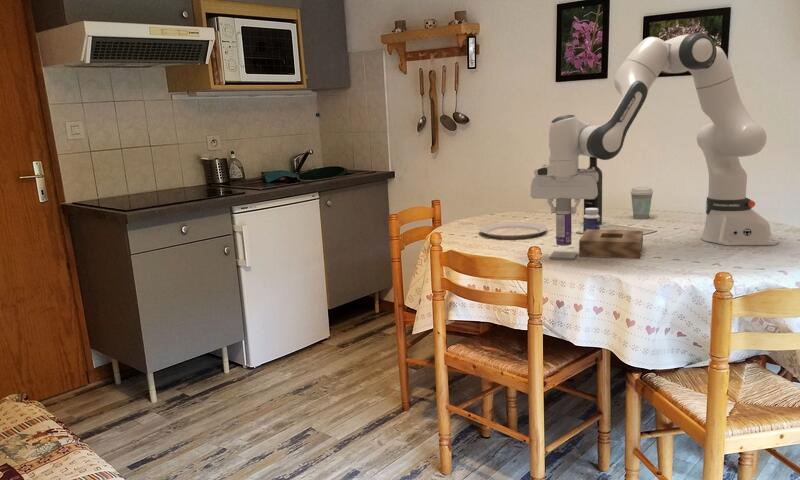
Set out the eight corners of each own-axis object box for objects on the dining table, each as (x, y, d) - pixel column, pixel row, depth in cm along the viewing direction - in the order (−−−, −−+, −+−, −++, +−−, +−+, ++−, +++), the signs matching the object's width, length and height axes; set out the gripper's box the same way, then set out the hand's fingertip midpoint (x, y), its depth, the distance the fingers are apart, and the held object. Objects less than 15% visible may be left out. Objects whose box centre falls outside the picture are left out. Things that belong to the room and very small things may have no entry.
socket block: (642, 245, 207) (642, 230, 206) (639, 258, 191) (639, 242, 190) (586, 243, 215) (586, 229, 214) (579, 255, 199) (579, 240, 198)
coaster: (577, 254, 200) (577, 252, 200) (574, 260, 194) (574, 257, 194) (553, 253, 203) (553, 251, 203) (549, 259, 197) (549, 256, 197)
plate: (554, 238, 226) (554, 233, 226) (484, 242, 226) (484, 237, 226) (538, 225, 251) (538, 220, 251) (475, 228, 251) (475, 224, 251)
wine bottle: (596, 226, 242) (596, 148, 236) (582, 225, 246) (583, 148, 239) (602, 223, 246) (603, 147, 240) (589, 222, 250) (590, 147, 243)
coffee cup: (625, 217, 256) (626, 188, 253) (642, 215, 258) (643, 186, 256) (639, 220, 248) (639, 190, 245) (657, 218, 250) (658, 188, 248)
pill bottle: (600, 237, 223) (600, 209, 221) (583, 237, 224) (583, 210, 222) (598, 233, 228) (599, 207, 226) (582, 234, 230) (582, 207, 227)
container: (569, 241, 200) (569, 195, 197) (573, 245, 196) (573, 198, 192) (554, 242, 200) (554, 196, 197) (558, 246, 196) (558, 199, 192)
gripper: (599, 167, 191) (599, 211, 194) (533, 168, 200) (533, 210, 203) (597, 169, 186) (596, 215, 189) (528, 170, 194) (529, 214, 197)
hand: (563, 212), depth 196 cm, fingers closed on container, 5 cm apart
